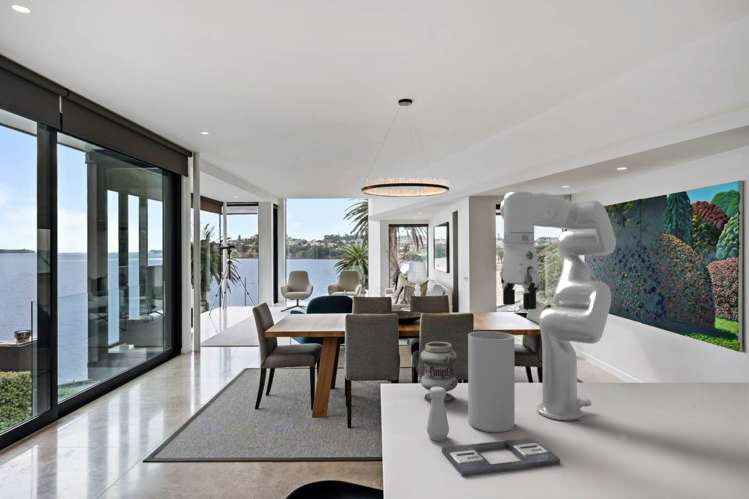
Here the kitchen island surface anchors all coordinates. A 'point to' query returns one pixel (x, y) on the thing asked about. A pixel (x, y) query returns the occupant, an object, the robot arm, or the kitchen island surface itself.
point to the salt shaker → (437, 415)
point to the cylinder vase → (491, 381)
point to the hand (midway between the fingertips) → (518, 306)
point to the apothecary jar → (439, 368)
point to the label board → (475, 464)
